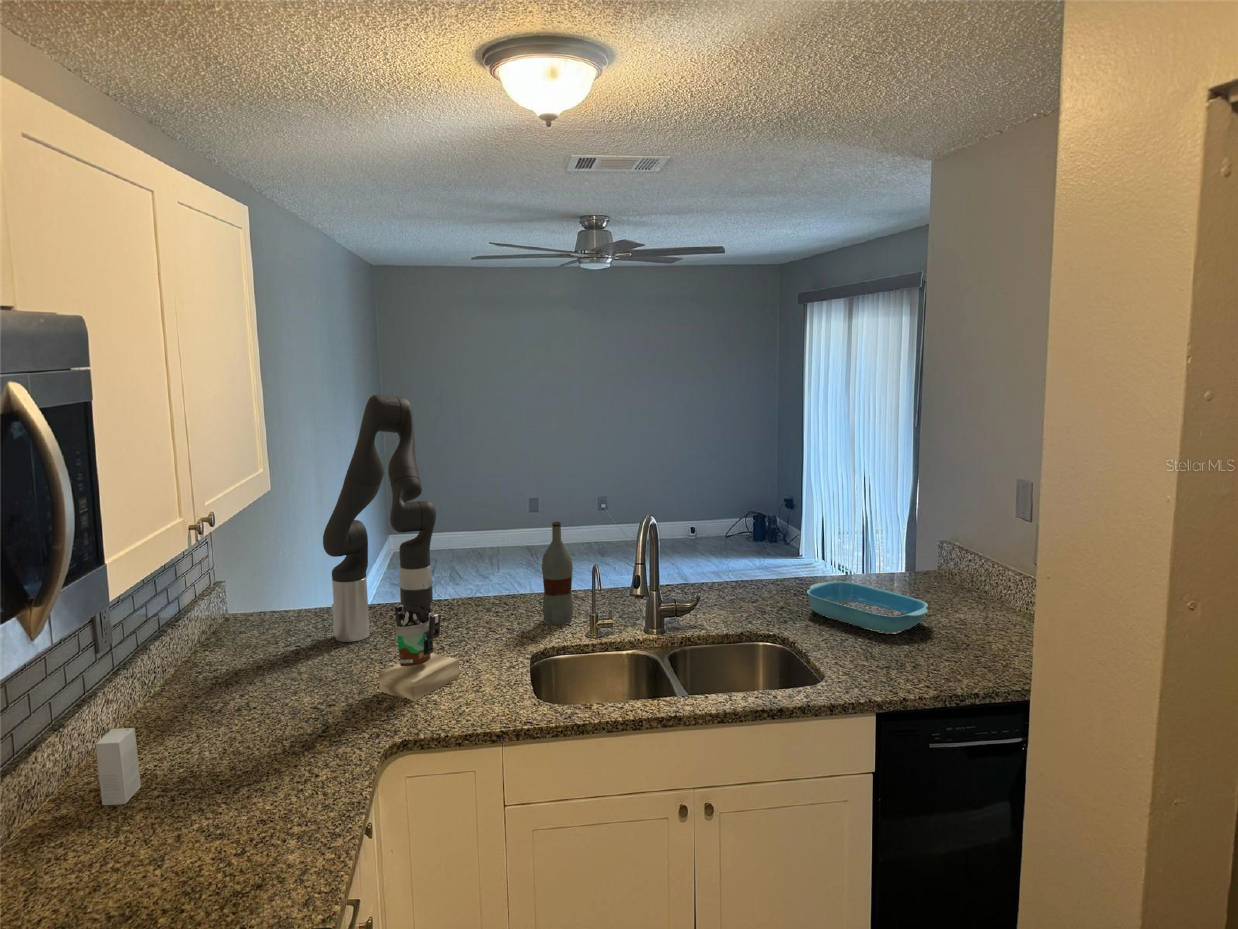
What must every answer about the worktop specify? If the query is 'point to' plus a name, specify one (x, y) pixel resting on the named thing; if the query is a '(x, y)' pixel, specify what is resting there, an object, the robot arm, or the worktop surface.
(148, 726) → the worktop surface
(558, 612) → the bottle
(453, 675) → the maple block
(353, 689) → the worktop surface
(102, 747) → the skincare box
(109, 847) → the worktop surface
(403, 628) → the food container
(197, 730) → the worktop surface
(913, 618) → the casserole dish
